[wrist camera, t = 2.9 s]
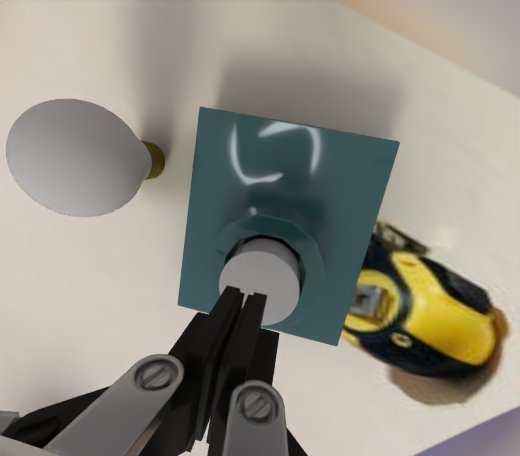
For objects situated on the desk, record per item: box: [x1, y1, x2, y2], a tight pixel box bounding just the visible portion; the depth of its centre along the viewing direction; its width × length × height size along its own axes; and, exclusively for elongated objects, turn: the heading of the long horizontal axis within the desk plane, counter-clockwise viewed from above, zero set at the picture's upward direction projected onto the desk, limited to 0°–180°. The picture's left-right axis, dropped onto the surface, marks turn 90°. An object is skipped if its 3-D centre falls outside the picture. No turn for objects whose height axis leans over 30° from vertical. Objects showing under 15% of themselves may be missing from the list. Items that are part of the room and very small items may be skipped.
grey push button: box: [219, 238, 300, 326], centre depth 16 cm, size 4×4×2 cm
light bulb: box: [6, 99, 165, 217], centre depth 16 cm, size 6×6×10 cm
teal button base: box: [178, 107, 400, 346], centre depth 18 cm, size 14×12×5 cm
